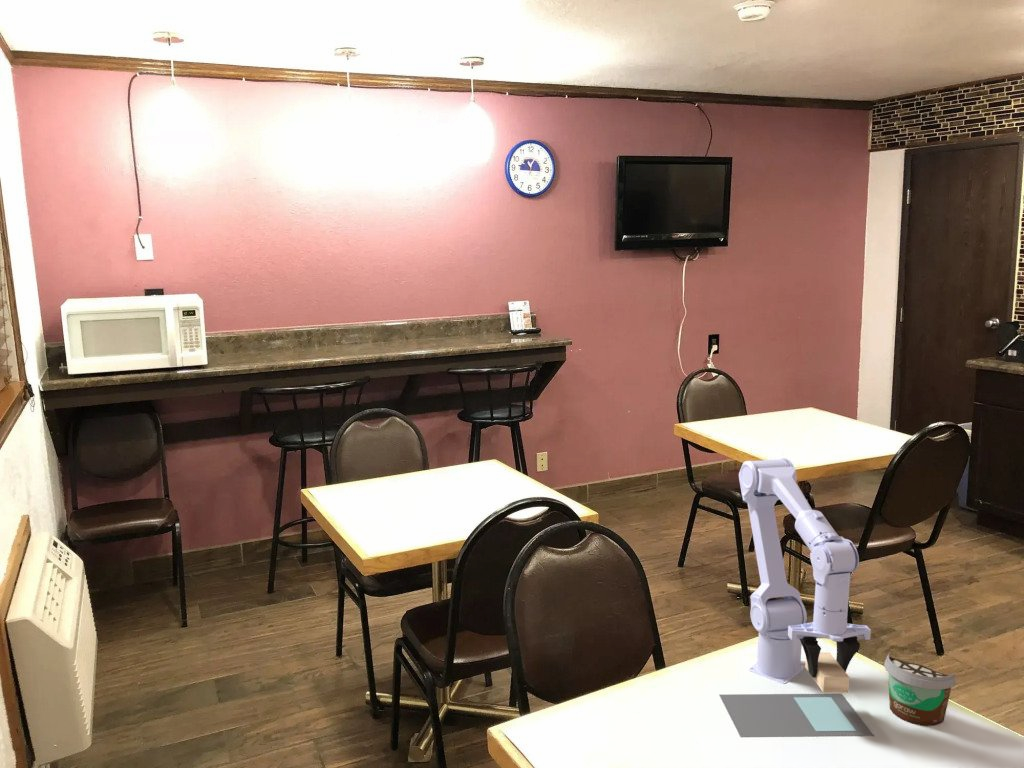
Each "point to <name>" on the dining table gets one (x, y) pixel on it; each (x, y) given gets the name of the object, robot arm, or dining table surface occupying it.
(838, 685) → the tan wooden block
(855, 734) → the mat
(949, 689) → the food container
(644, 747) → the dining table surface
